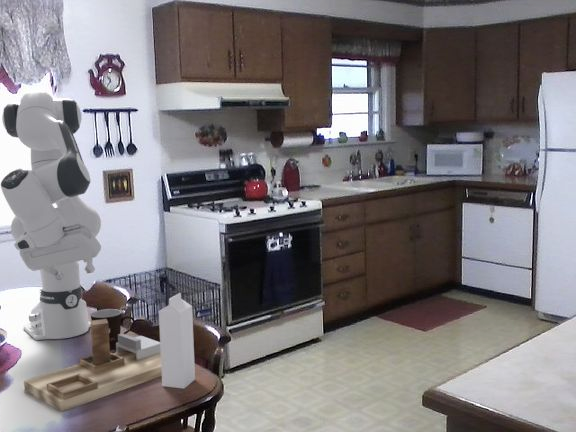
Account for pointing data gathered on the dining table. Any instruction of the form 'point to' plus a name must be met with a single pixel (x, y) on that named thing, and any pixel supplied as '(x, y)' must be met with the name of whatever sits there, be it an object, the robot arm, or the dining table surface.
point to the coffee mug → (112, 323)
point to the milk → (177, 343)
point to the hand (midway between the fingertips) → (75, 274)
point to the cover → (138, 345)
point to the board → (93, 379)
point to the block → (100, 341)
